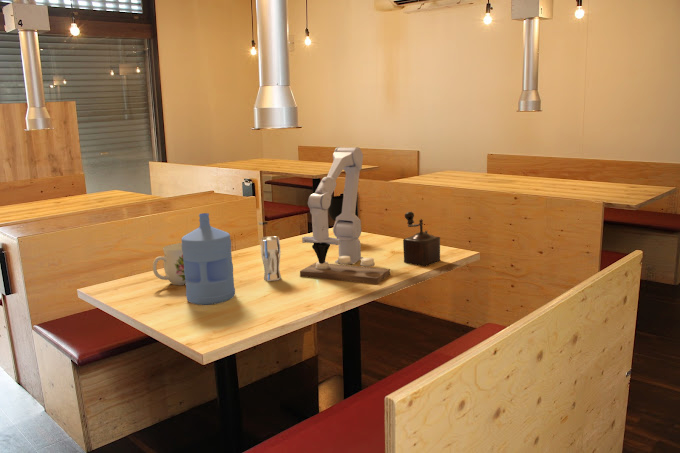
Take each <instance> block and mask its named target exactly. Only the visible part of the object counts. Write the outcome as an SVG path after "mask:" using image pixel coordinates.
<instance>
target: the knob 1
mask: <svg viewBox="0 0 680 453" xmlns="http://www.w3.org/2000/svg"><path fill="white" fill-rule="evenodd" d="M315 263H316V269H317V270H326V269H329V265H328V264H329V261H327V260H325V262H324V263H323V264H321V263H319V261H317V262H315Z"/></svg>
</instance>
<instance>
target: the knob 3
mask: <svg viewBox="0 0 680 453" xmlns="http://www.w3.org/2000/svg"><path fill="white" fill-rule="evenodd" d="M374 260H375V259H374V258H373V257H363V258H362V259H361V260H360V263H359V265H360V266H361V267H373V266H375V261H374Z"/></svg>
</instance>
